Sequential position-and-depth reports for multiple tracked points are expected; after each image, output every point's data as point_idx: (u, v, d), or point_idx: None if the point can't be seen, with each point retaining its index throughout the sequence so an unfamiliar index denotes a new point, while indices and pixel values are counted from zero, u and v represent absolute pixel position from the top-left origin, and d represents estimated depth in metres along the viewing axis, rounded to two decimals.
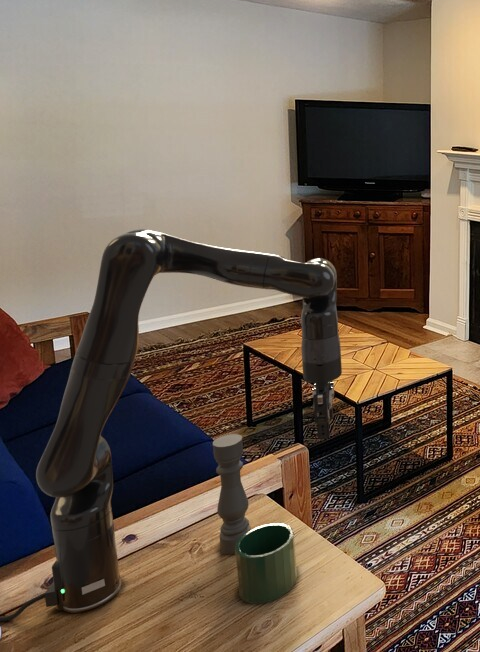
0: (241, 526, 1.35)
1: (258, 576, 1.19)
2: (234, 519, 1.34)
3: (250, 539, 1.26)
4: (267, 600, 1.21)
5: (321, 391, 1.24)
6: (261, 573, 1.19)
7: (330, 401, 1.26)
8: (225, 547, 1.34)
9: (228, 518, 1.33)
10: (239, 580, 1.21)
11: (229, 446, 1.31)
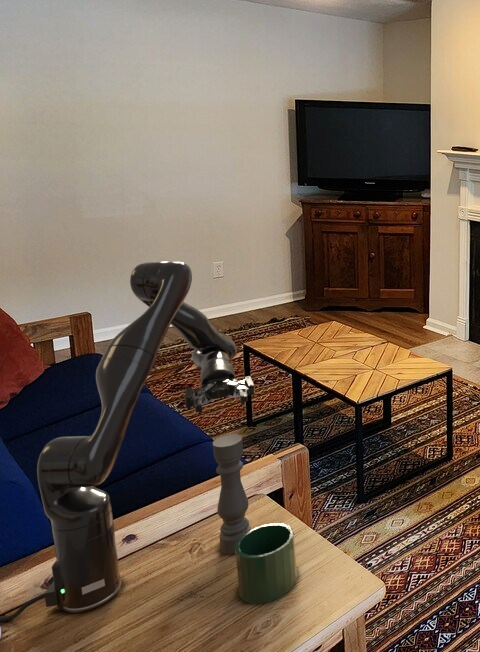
0: (241, 526, 1.35)
1: (258, 576, 1.19)
2: (234, 519, 1.34)
3: (250, 539, 1.26)
4: (267, 600, 1.21)
5: None
6: (261, 573, 1.19)
7: None
8: (225, 547, 1.34)
9: (228, 518, 1.33)
10: (239, 580, 1.21)
11: (229, 446, 1.31)
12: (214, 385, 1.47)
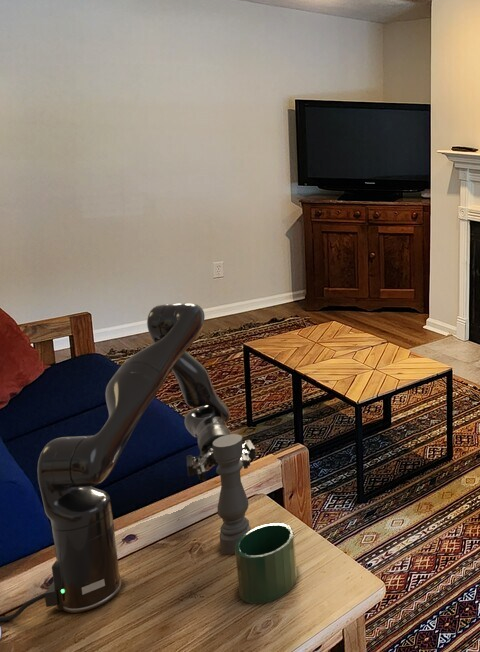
0: (241, 526, 1.35)
1: (258, 576, 1.19)
2: (234, 519, 1.34)
3: (250, 539, 1.26)
4: (267, 600, 1.21)
5: None
6: (261, 573, 1.19)
7: None
8: (225, 547, 1.34)
9: (228, 518, 1.33)
10: (239, 580, 1.21)
11: (229, 446, 1.31)
12: None
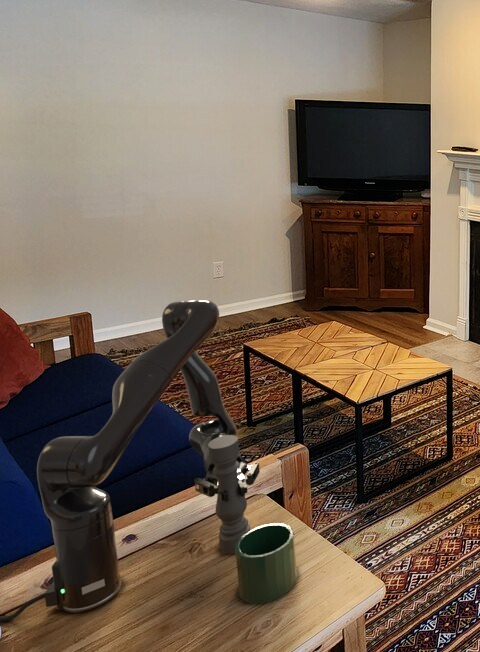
0: (240, 525, 1.35)
1: (258, 576, 1.19)
2: (233, 520, 1.34)
3: (250, 539, 1.26)
4: (267, 600, 1.21)
5: None
6: (261, 573, 1.19)
7: None
8: (225, 547, 1.34)
9: (227, 518, 1.33)
10: (239, 580, 1.21)
11: (225, 448, 1.30)
12: None
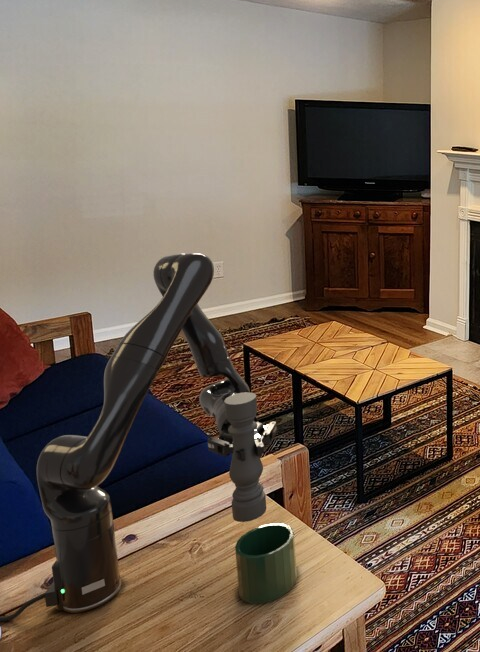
0: (257, 490, 1.25)
1: (258, 576, 1.19)
2: (250, 484, 1.24)
3: (250, 539, 1.26)
4: (267, 600, 1.21)
5: None
6: (261, 573, 1.19)
7: None
8: (240, 515, 1.23)
9: (244, 482, 1.22)
10: (239, 580, 1.21)
11: (245, 404, 1.20)
12: None
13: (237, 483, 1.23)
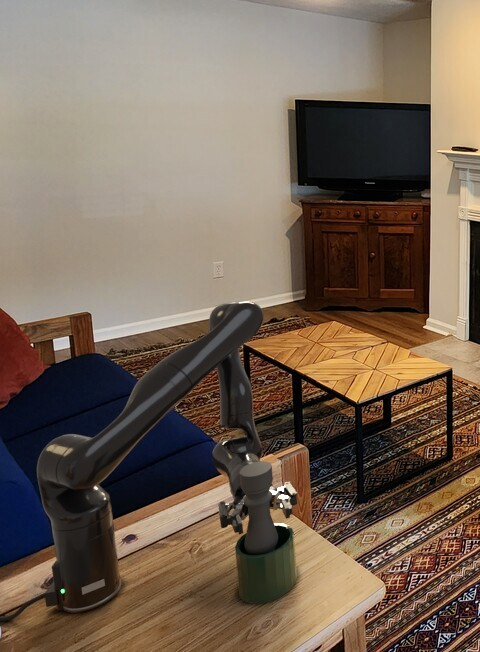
0: None
1: (258, 576, 1.19)
2: None
3: None
4: (267, 600, 1.21)
5: None
6: (261, 573, 1.19)
7: None
8: None
9: (259, 554, 1.21)
10: (239, 580, 1.21)
11: (260, 475, 1.19)
12: None
13: None
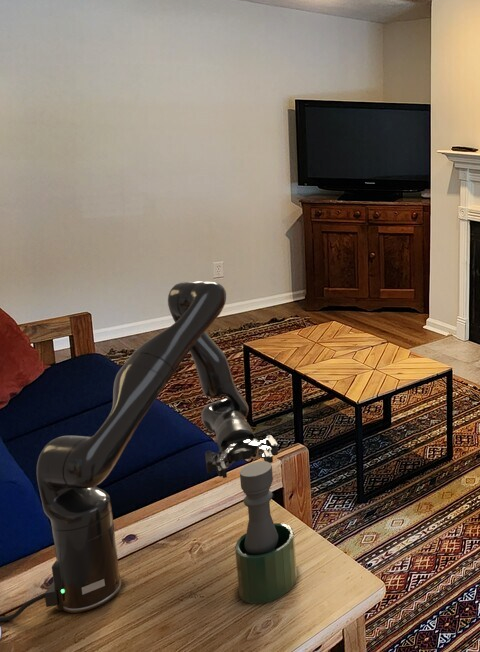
0: None
1: (258, 576, 1.19)
2: None
3: None
4: (267, 600, 1.21)
5: None
6: (261, 573, 1.19)
7: None
8: None
9: (259, 554, 1.21)
10: (239, 580, 1.21)
11: (261, 475, 1.19)
12: (235, 446, 1.38)
13: None
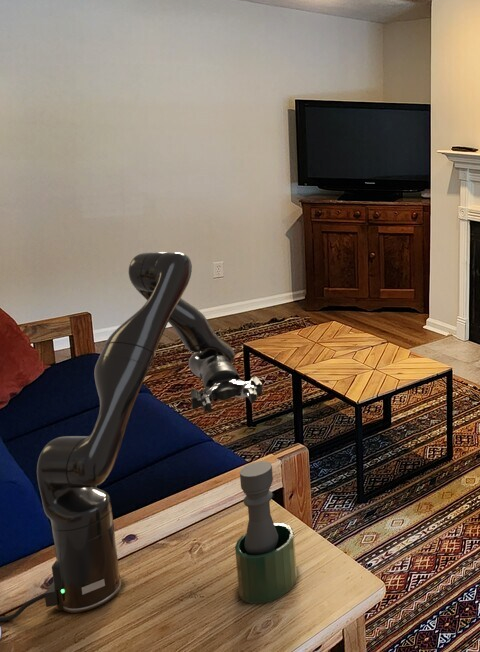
0: None
1: (258, 576, 1.19)
2: None
3: None
4: (267, 600, 1.21)
5: None
6: (261, 573, 1.19)
7: None
8: None
9: (259, 554, 1.21)
10: (239, 580, 1.21)
11: (261, 475, 1.19)
12: (220, 385, 1.41)
13: None
